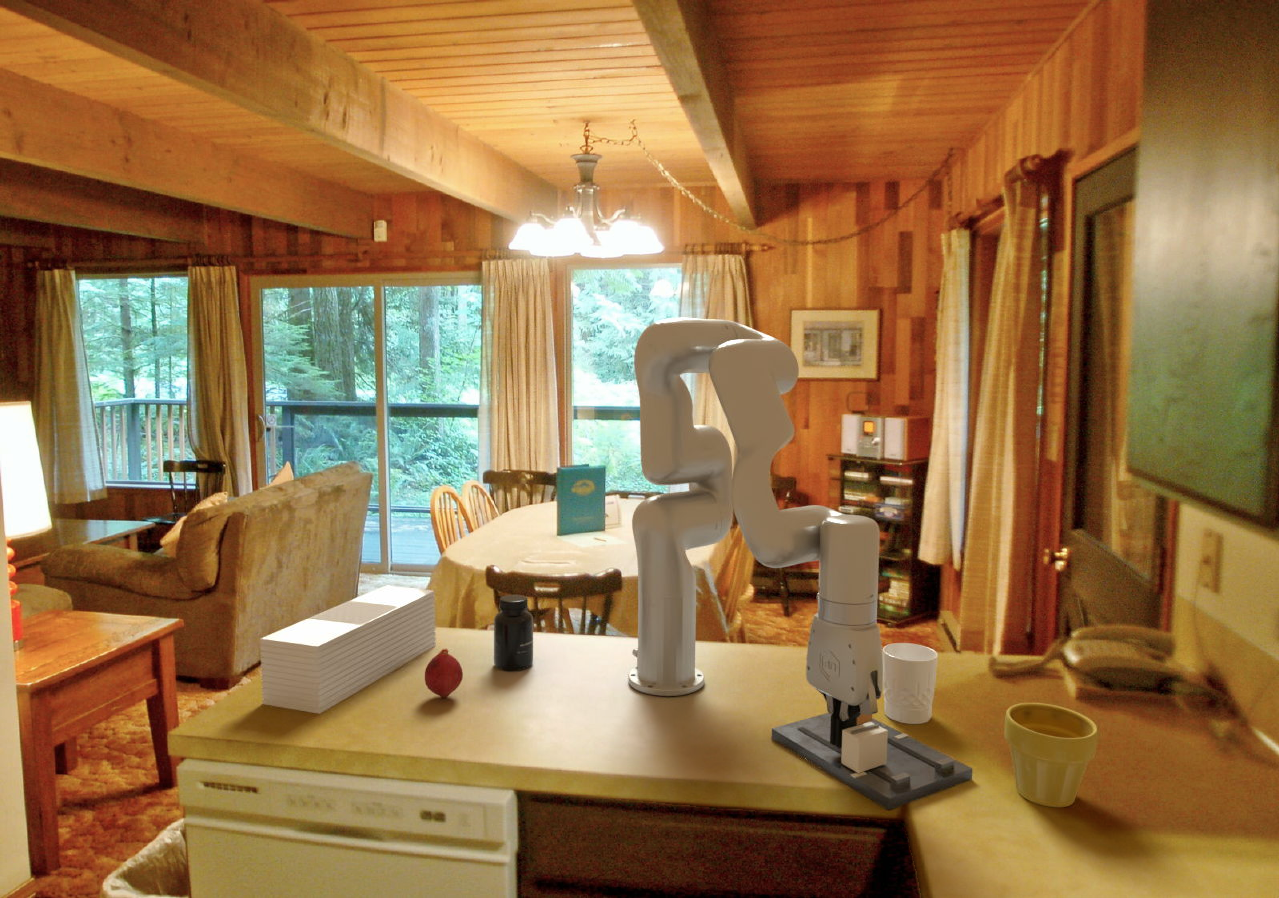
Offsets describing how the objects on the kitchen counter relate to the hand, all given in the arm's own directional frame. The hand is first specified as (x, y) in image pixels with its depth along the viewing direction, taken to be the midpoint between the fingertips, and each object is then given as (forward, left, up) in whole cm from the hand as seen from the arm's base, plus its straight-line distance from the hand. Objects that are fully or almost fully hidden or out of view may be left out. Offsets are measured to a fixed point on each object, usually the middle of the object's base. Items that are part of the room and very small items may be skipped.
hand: (843, 743), depth 113 cm
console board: (0, +4, -3) cm, 5 cm away
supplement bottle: (-56, -25, -3) cm, 61 cm away
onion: (-48, -40, -3) cm, 62 cm away
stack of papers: (-65, -49, -3) cm, 82 cm away
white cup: (-7, +19, -3) cm, 21 cm away
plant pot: (+18, +16, -3) cm, 25 cm away
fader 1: (-7, +8, -1) cm, 10 cm away
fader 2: (+4, 0, -1) cm, 4 cm away
